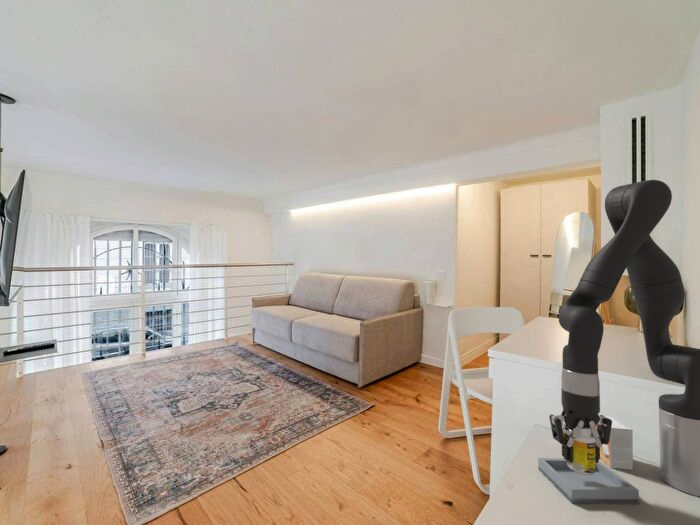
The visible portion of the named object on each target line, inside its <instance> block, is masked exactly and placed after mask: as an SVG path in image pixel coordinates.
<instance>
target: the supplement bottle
mask: <svg viewBox="0 0 700 525" xmlns="http://www.w3.org/2000/svg"><path fill="white" fill-rule="evenodd" d="M569 431H570V432H572V430H570V429H569ZM567 439H568V438H567ZM572 447H573V462H572V463H569V462H568V461H567V465H568V466H569V468H571V469H572V470H573V471H575V472H577V473H580V474H583V475H593V474H595V469H596V467H595V457H596V456H595V438H594V437H593V436H591V429H590V428H581V430H580V432H579V434H578V437H577V439H574V442H573V444H572Z"/></svg>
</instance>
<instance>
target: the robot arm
mask: <svg viewBox="0 0 700 525" xmlns="http://www.w3.org/2000/svg"><path fill="white" fill-rule="evenodd" d="M672 194H673V193H672V190H671V188H670V187H669V185H668V184H666V183H665V182H664V181H661V180H658V179H649V180H648V179H647V180H641V181H636V182H633V183H629V184H628V183H626V184H623V185H620V186H616V187H614V188H612V189H611V190H609V192H608V193H607V194H606V196H605V199H604V210H605V213H606V216H607V219H608V222H609V224H610V226H611V229H612V231H613V233H614V235H613V237H612V238H611V239H609V241H608V242H607V243H606V244H605V245H603V246H602V247H601V249H600V250H598V251H597V252H596V254H594V256H593V257H591V259H590V261H589V262H588V263H587V265H586V267H585V269H584V270H583V274H582V275H581V277H580V279H579V281H578V284H577V286H576V287H575V289H574V290H573V292H572V293H571V294H570V295H569V296H568V298H567V299H566V300H565V302H564V303H563V305H562V306H561V308H560V311H559V313H558V323H559V325H560V327H561V328H562V329H563V330H564V331H565V332H568V340H567V344H566V345H564V346H563V348H562V356H561V357H562V369H561V371H562V372H561V376H560V377H561V386H560V387H561V388H560V390H561V394H560V395H561V406H562V411H561V414H558V415H554V414H549V422H550V428H551V432H552V438H553V439H554V440H555V441H557V442H558V443H559V444H560V445H561V456H562V458H564V459H565V460H566V461H568V462H569V463H572V462H573V447H572V444H573V442H574V439H577V437H578V434H579V432H580V430H581V428H590V429H591V436H593V437H594V438H595V456H596V457H595V463H598V462H599V461H600V460H601V459H600V447H601V445H603V444H606V445H607V444H609V439H610V433H611V426H612V420H611V419H609V418H607V417H605V416H606V415H602V414H600V412H601V392H600V391H601V385H600V383H601V382H600V377H599V353H600V352H599V351H600V349H601V344H602V341H603V336H604V321H603V318H602V316H601V315H600V314H599V312H598V311H597V310H598V308H599V306H600V305H601V304H604V303H606V302H608V301H609V300H611V298H612V297H613V295H614V293H615V291H616V289H617V288H618V285H619V282H620V281H621V279H622V277H623V275H624V272H625V271H627V274H628V280H629V284H630V288H631V291H632V295H633V297H634V300H635V303H636V307H637V312H638V314H639V318H640V322H641V328H642V331H643V332H642V333H643V339H644V345H645V352H646V358H647V362H648V365H649V368H650V370H651V372H652V373H653V375H655V376H656V377H657V378H659V379H662V380H664V381H668V382H672V383H677V384H681V385H684V392H683V393H681V394H680V393H677V394H676V393H667V394H666V393H665V394H661V395H660V396H659V397H658V425H659V426H658V430H659V432H658V433H659V470H660V471H659V475H660V479H661V480H663V481H664V482H665V483H666V484H668V485H669V486H671V487H673V488H674V489H677V490H679V491H681V492H684V493H687V494H690V495H693V496H696V497H700V348H696V347H692V346H685V345H678V344H674V343H673V342H672V340H671V334H670V325H671V322H672V320H673V319H674V317H675V316H676V314H677V313H678V312H679V310H680V309H681V308H682V305H683V303H684V302H685V299H686V291H685V286H684V283H683V279H682V275H681V273H680V270H679V268H678V266H677V264H676V263H675V262H674V261H673V259H672V258H671V257H670V256H669V255H668V254H667V253H666V252H665V251H664V250H663V249H662V248H661V247H660V246H659V245H658V244H657V243H656V241H655V240H653V238H652V236H651V233H653V231H654V229H655V228H656V226H658V225H659V223H660V222H661V220H662V218H664V216H665V215H666V213H667V212H668V210H669V209H670V206H671V203H672V200H673V195H672ZM599 414H600V415H599ZM597 424H598V426H597V429H596V425H597ZM569 430H572V432H570V431H569ZM603 433H604V434H603ZM602 436H603V437H602ZM567 438H568V439H567Z"/></svg>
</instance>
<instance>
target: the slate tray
mask: <svg viewBox="0 0 700 525" xmlns="http://www.w3.org/2000/svg"><path fill="white" fill-rule="evenodd" d="M537 462H538V467H537V469H539V470H540V471H541V472H542V473H543V474H544V475H545V476H546V477H547V478H548V479H549V480H550V481H551V482H552V483H553V484H554V485H553V484H552V483H551V482H550V481H549V480H548V479H547V478H546V477H545V476H544V475H543V474H542V473H541V472H540V471H539V470H538V471H539V472H540V473H541V474H542V475H543V476H544V477H545V478H546V479H547V480H548V481H549V482H550V483H551V484H552V485H553V486H554V488H556V489H557V491H559V492H560V493H561V495H563V497H565V498H566V499H567V500H568V501H569V503H571V505H572V504H573V505H574V504H583V505H585V504H588V505H590V504H591V505H592V504H593V505H595V504H596V505H597V504H600V505H602V504H603V505H610V504H611V505H613V504H615V505H620V504H621V505H639V504H640V494H639V493H640V491H639V489H638V488H637V487H635V486H634V485H633V484H631V483H630V482H628V481H627V480H626V479H625V478H623V477H621V476H620V475H619V474H617V473H616V472H615V471H613V470H612V468H610V467H609V466H606V464H605V463H602V462H601V461H600V460H599V462H598V463H595V467H596V469H595V474H593V475H583V474H580V473H577V472H575V471H573V470H572V469H571V468H569V466H568V465H567V461H566V460H565V459H564V457H562V458H561V457H556V458H555V457H552V458H551V457H549V458H548V457H538V459H537Z"/></svg>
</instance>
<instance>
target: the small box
mask: <svg viewBox="0 0 700 525" xmlns="http://www.w3.org/2000/svg"><path fill="white" fill-rule="evenodd" d="M604 416H605V417H607V418H609V419H611V420H612V426H611V433H610V439H609V444H607V445H606V444H603V445H601V447H600V459H599V460H601V461H602V462H603V464H604V465H607V467H608V468H609V469H620V470H629V471H630V470H631V471H632V470H633V469H634V466H633V465H634V462H633V461H634V456H633V455H634V450H633V449H634V447H633V446H634V443H633V442H634V441H633V440H634V439H633V438H634V436H633V433H634V431H633V429H632V428H631V427H628V426H627V425H625V424H623V423H622V422H621V421H619V420H617V419H616V418H615V417H613V416H608V415H607V416H606V415H604ZM597 426H598V424H597V425H596V429H597ZM603 434H604V433H603ZM602 437H603V436H602Z"/></svg>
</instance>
